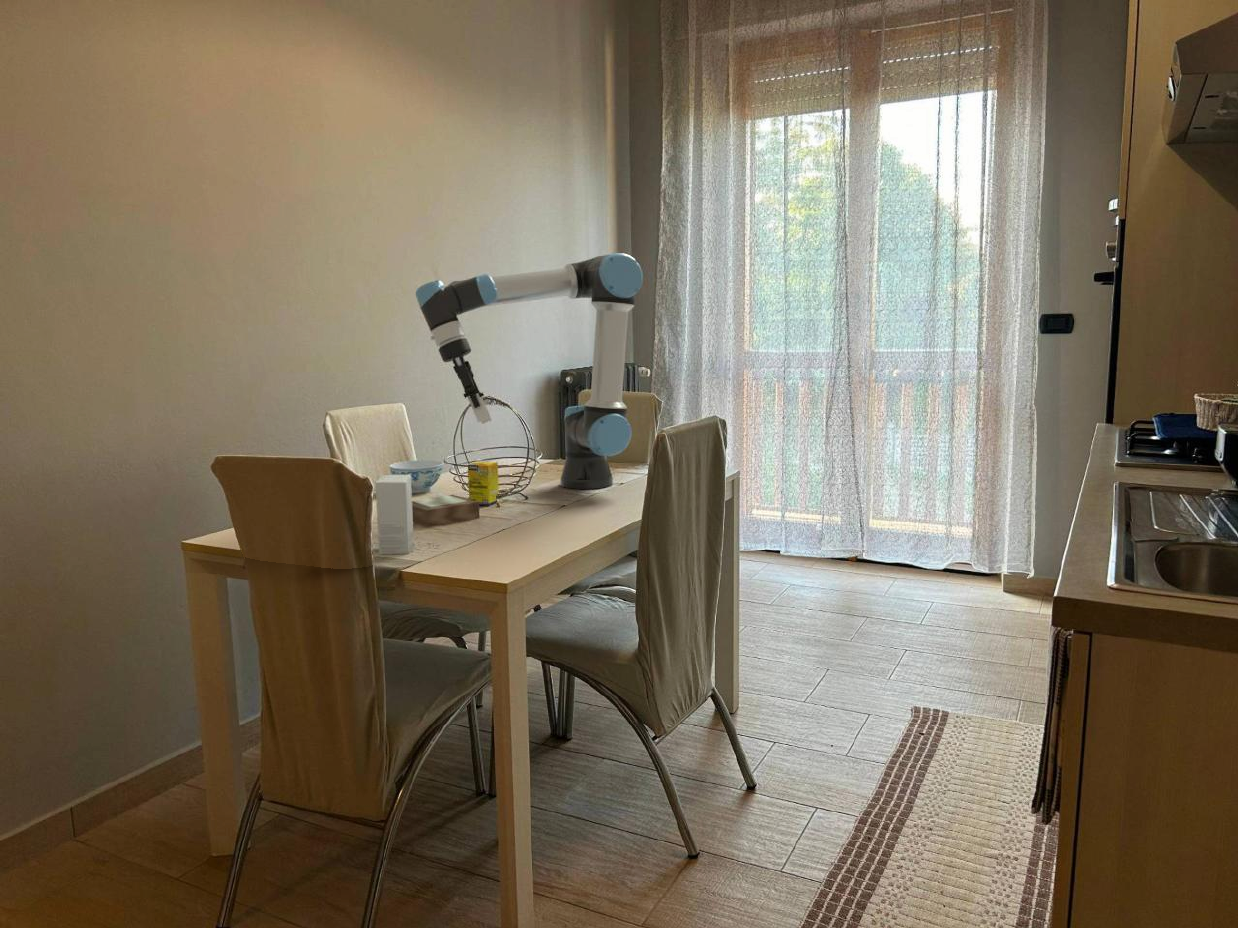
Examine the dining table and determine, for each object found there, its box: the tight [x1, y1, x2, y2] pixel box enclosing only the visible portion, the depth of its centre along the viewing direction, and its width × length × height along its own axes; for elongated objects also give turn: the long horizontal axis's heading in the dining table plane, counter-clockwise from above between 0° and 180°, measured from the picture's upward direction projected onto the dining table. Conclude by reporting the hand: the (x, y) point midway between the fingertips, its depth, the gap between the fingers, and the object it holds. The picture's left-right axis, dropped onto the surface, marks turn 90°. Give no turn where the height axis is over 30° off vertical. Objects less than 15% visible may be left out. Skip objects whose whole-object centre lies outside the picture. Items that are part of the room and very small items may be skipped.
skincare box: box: [375, 474, 415, 556], centre depth 194 cm, size 8×7×16 cm
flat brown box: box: [412, 494, 480, 528], centre depth 225 cm, size 14×13×4 cm
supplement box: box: [467, 460, 500, 507], centre depth 242 cm, size 6×6×11 cm
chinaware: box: [388, 459, 444, 494], centre depth 262 cm, size 15×15×8 cm
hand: (485, 421), depth 231 cm, fingers open, 13 cm apart
